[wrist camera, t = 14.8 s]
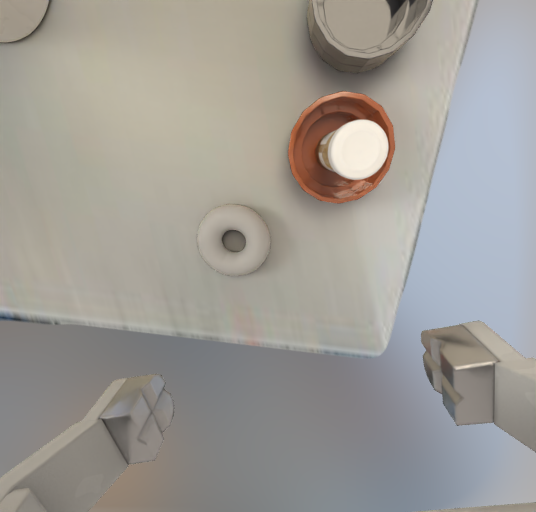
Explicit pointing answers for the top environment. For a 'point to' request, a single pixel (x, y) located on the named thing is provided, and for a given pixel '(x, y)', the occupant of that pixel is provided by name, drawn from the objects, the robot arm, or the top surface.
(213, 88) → the top surface
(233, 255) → the donut
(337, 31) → the charcoal bowl
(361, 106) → the terracotta bowl
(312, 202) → the top surface
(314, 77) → the top surface
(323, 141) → the sprinkles bottle
